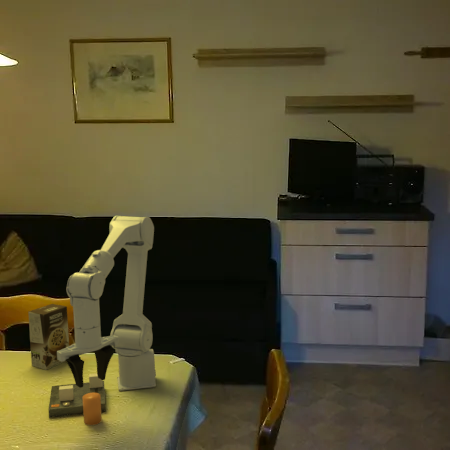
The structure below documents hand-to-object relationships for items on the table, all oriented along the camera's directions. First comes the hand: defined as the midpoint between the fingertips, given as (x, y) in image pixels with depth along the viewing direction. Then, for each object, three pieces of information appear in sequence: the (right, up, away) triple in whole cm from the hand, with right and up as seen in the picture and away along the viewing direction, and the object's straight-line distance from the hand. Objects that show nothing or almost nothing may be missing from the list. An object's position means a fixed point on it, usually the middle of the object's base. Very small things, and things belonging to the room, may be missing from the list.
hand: (90, 382), depth 139 cm
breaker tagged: (-8, -6, +8) cm, 13 cm away
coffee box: (-19, -4, +36) cm, 41 cm away
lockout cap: (0, -9, +2) cm, 9 cm away
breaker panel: (-6, -8, +11) cm, 14 cm away
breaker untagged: (-2, -5, +15) cm, 16 cm away
